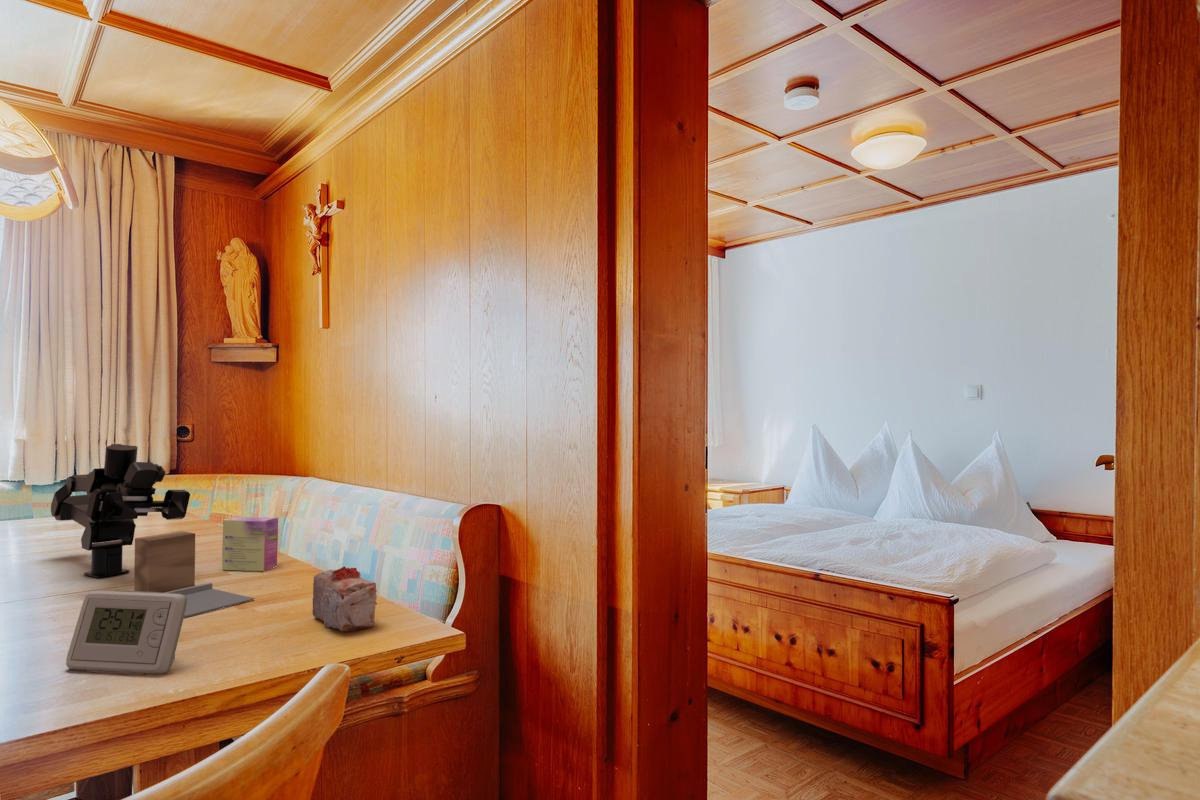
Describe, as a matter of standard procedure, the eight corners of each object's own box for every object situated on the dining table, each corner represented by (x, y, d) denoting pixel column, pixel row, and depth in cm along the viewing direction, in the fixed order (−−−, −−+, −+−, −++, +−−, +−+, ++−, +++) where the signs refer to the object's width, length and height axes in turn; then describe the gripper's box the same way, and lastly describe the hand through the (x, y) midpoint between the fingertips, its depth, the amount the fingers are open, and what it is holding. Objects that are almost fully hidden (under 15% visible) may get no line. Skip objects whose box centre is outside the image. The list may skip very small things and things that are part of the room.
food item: (383, 627, 121) (383, 570, 121) (338, 638, 115) (339, 578, 115) (346, 611, 130) (347, 558, 130) (304, 620, 125) (304, 565, 125)
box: (278, 566, 166) (278, 516, 166) (264, 572, 160) (264, 520, 160) (236, 565, 167) (237, 515, 167) (221, 570, 161) (222, 519, 161)
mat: (136, 606, 132) (136, 598, 132) (209, 589, 144) (209, 582, 144) (181, 618, 125) (182, 610, 125) (254, 600, 137) (254, 592, 137)
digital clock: (58, 671, 100) (59, 596, 100) (118, 650, 109) (119, 582, 109) (142, 685, 95) (143, 607, 95) (199, 662, 104) (200, 591, 104)
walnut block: (134, 599, 137) (134, 538, 137) (180, 588, 145) (181, 531, 145) (147, 602, 135) (148, 540, 135) (194, 592, 143) (195, 533, 143)
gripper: (84, 457, 144) (120, 476, 136) (176, 461, 160) (214, 478, 152) (71, 510, 144) (107, 532, 136) (165, 508, 160) (202, 528, 151)
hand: (160, 515), depth 144 cm, fingers open, 9 cm apart
